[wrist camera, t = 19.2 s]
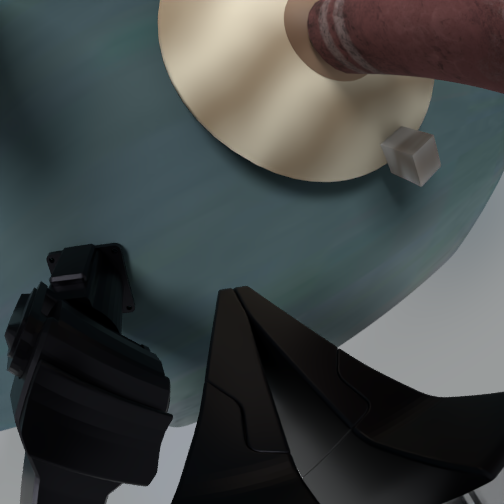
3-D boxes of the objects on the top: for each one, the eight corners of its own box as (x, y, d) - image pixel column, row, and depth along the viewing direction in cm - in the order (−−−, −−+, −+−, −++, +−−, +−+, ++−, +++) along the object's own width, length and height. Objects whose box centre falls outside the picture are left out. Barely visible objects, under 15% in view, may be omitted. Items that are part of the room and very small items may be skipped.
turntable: (448, 104, 21) (485, 114, 16) (297, 240, 23) (329, 274, 19) (335, -89, 7) (368, -107, 3) (87, 7, 9) (67, -20, 5)
